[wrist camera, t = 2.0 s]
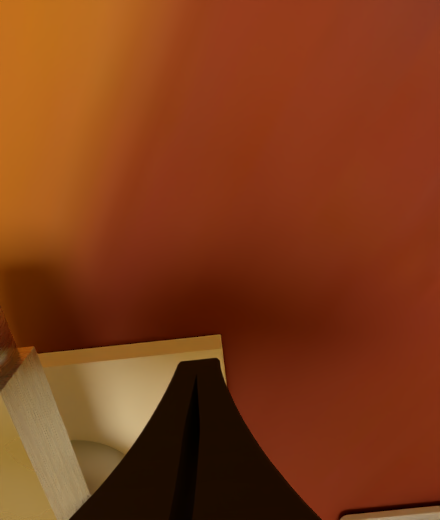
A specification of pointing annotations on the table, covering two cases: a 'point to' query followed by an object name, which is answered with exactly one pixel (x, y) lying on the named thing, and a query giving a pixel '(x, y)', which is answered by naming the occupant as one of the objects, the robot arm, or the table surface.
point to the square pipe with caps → (33, 441)
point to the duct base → (116, 394)
